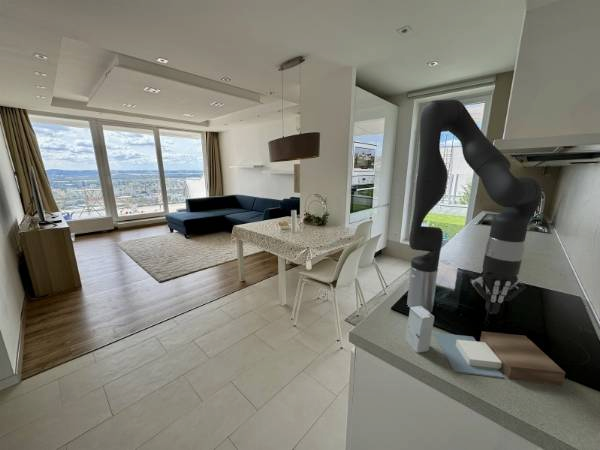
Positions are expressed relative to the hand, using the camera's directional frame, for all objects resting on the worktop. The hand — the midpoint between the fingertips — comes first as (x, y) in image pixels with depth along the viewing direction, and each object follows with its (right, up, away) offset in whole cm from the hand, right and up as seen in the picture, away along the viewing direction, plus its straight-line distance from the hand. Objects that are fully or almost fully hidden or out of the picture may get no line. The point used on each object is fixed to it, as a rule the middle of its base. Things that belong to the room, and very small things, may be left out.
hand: (491, 312), depth 67 cm
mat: (-4, -14, +5) cm, 15 cm away
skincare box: (-17, -14, +8) cm, 23 cm away
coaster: (-2, -14, +3) cm, 14 cm away
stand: (+8, -15, +1) cm, 17 cm away
